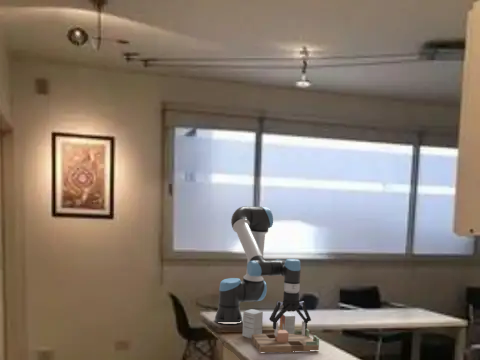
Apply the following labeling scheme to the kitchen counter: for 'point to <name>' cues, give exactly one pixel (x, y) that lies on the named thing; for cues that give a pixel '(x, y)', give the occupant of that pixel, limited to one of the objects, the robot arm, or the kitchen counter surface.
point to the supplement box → (252, 322)
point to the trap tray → (294, 342)
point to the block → (282, 336)
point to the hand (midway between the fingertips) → (289, 335)
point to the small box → (287, 322)
